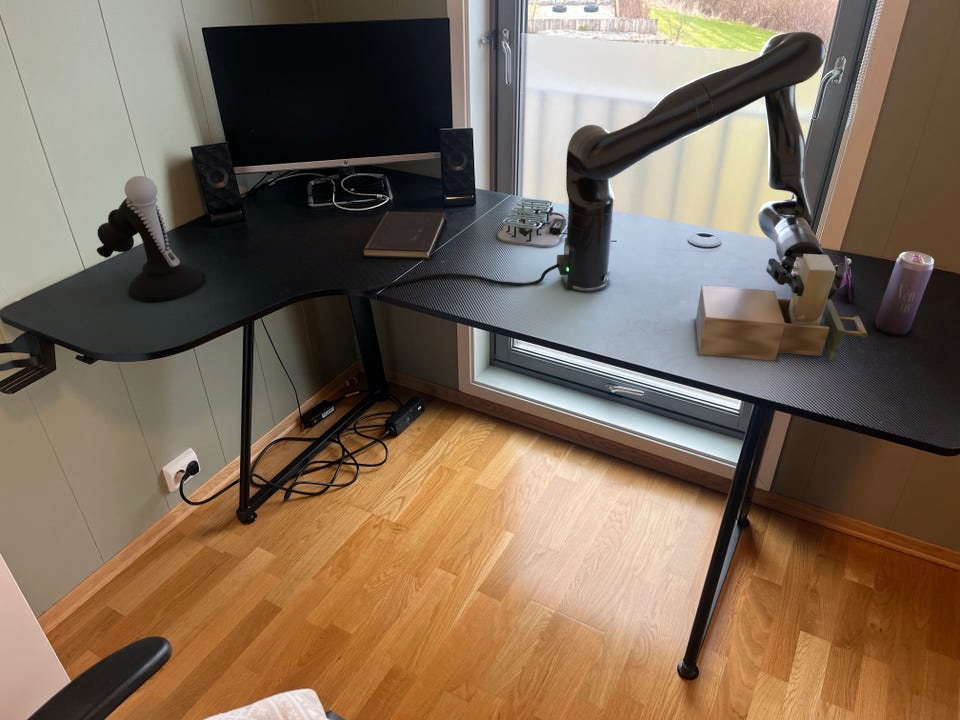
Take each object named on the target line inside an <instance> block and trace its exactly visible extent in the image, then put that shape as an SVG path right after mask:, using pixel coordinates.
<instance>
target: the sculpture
mask: <svg viewBox="0 0 960 720" xmlns="http://www.w3.org/2000/svg"><path fill="white" fill-rule="evenodd" d="M123 191H124V194H125V197H126V198H125V199H124V200H123V201H122V202H121V203H120V205H119V206H118V208H115V209H112V210H111V211H110V212H109V213H108V216H107V222H104V223H102V224H101V225H99V226H98V228H97V237H98V240H99V242H101V244H102V245H101V246H99V247H97V248H96V253H98V255H99V256H101V257H103V258H105V259H108V258H110V257H111V256H112V255H113V253H114V252H116V253H126V252H129V251H130V250H132V249H133V248H134V245H135V239H134V236H136V235H137V234H138V235H139V237H140V238H141V240H142V244H143V247H144V252H145V257H146V262H144V264H143V265H142V267H141V270H142V271H141V272H139V273H138V274H137V275H136V276H135V278H133V280H132V282H131V283H130V285H129V291H130V294H131V296H132V297H133V298H134V299H136V300H138V301H142V302H149V303H151V302H152V303H154V302H156V303H157V302H166V301H171V300H176V299H179V298H182V297H184V296H187V295H188V294H190V293H193V292H194V291H196V290H197V289H198V288H199V287H200V286H201V285H202V283H203V280H204V279H203V274H202V271H200V269H198V268H196V267H194V266H192V265H190V264H186V263H183V262H181V260H180V259H179V258H178V257H177V256H176V254H174V252H173V250H172V249H171V248H170V246H169V245H170V243H169V242H168V241H169V238H168V234H167V233H168V231H167V226H166V225H165V224H166V223H165V221H163V220H164V218H163V217H162V216H163V214H162V213H160V212H161V209H160V208H159V205H158V204H157V203H158V198H157V195H158V186H157V185H156V183H155V182H154V181H153V179H151V178H149V177H147V176H144V175H137V176H132V177H131V178H129V179H128V180H127V181H126V182H125V185H124V189H123Z"/></svg>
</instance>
